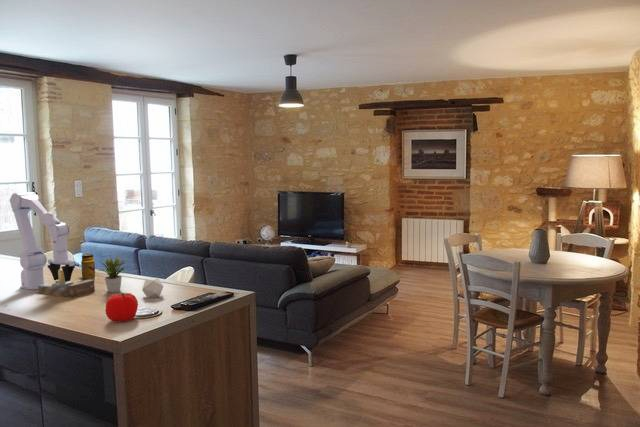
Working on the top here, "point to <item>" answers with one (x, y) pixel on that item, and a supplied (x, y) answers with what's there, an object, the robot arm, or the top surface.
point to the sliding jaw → (61, 280)
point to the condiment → (87, 267)
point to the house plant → (113, 274)
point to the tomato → (121, 307)
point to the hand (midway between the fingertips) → (62, 280)
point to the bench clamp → (68, 289)
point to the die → (152, 287)
